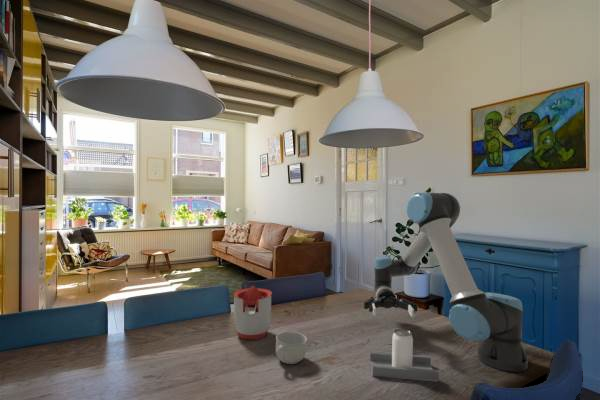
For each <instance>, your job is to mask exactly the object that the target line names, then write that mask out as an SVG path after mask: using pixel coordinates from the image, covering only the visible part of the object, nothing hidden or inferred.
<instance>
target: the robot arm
mask: <svg viewBox="0 0 600 400" xmlns="http://www.w3.org/2000/svg"><path fill="white" fill-rule="evenodd" d="M460 213H461V206H460V203H459V201H458V199H457V198H456V197H455V196H453V194H450V193H447V192H428V191H424V192H418V193H414V194H413V195H412V196H411V197H410V198H409V200H408V201H407V206H406V214H407V217H408V219H409V220H410V221H411V222H413V223H414V224H417V225H418V227H419V230H420V232H419V233H418V235H417V236H416V237H415V238H414V240H413V241H412V242H411V243H410V245H409V246H408V248H407V249H406V250H405V251H404V253H403V254H402V255H401V256H400V258H398V259H394V260H392V258H391V257H389V256H377V257H375V259H374V286H373V293H374V295H375V297H376V298H375V297H374V296H371V297H370V298H369V299H367V300H366V301H364V302H363V309H364V310H368V312H369V313H372V315H373V316H374V317H376V316H377V308H378V309H379V308H383V309H391V308H395V309H398V308H399V309H401V310H402V309H403V310H405V311H407V312H408V314H409V316H410V317H411V318H413V319H414V318H415V314H416V312H418V303H415V302H413V301H410V300H407V299H406V298H404V297H402V298H401V299H399V298H397V297H396V295H395V293H394V291H393V290H392V279H393V278H394V277H402V276H403V277H404V276H410V275H414V274H416V272H417V271H418V264H419V263H420V261H421V260H422V259H423V257H425V255H426V254H427V253H428V252H429V251H430V249H432V251H433V253H434V255H435V258H436V261H437V263H438V266H439V268H440V270H441V273H442V275H443V278H444V281H445V282H446V284H447V287H448V289H449V292H450V295H451V298H450V301H449V303H450V306H451V308H450V309H449V315H448V320H449V323H450V325H451V328H452V329H453V330H454V332H455V333H456V334H457V335H458V336H460V337H462V338H463V339H464V340H466V341H469V342H477V341H479V344H478V347H477V350H476V356H477V359H478V360H479V361H480V362H481V363H484V364H485V365H487V366H489V367H491V368H494V369H497V370H501V371H505V372H513V373H514V372H515V373H519V372H524V371H527V369H528V368H529V367H528V363H529V359H528V358H527V354H526V351H525V349H524V346H523V313H524V309H523V302H522V301H521V300H520V299H519V298H517V297H514V296H511V295H508V294H507V295H506V294H502V293H497V292H489V291H488V292H484V291H483V290H480V289H479V288H478V286H477V284H476V282H475V280H474V277H473V276H472V273H471V272H470V269H469V266H468V264H467V263H466V260H465V258H464V256H463V253H462V250H461V249H460V247H459V245H458V242H457V240H456V238H455V236H454V234H453V232H452V229H451V228H452V227H453V226H454V224H455V223H456V222H457V220H458V218H459V216H460Z"/></svg>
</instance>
